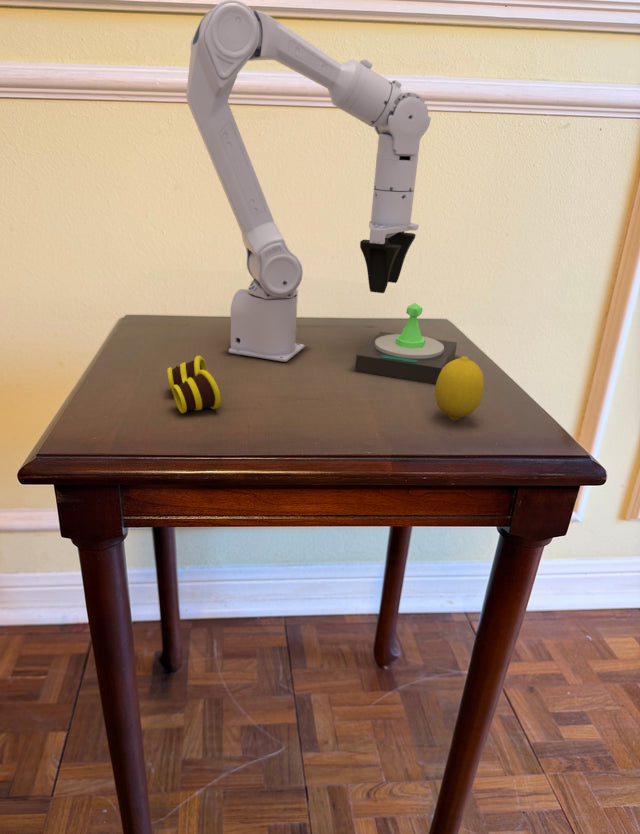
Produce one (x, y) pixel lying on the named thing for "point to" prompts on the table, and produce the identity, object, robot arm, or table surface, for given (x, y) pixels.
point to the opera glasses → (193, 386)
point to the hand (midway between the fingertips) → (383, 286)
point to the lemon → (459, 388)
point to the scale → (405, 358)
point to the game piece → (411, 329)
